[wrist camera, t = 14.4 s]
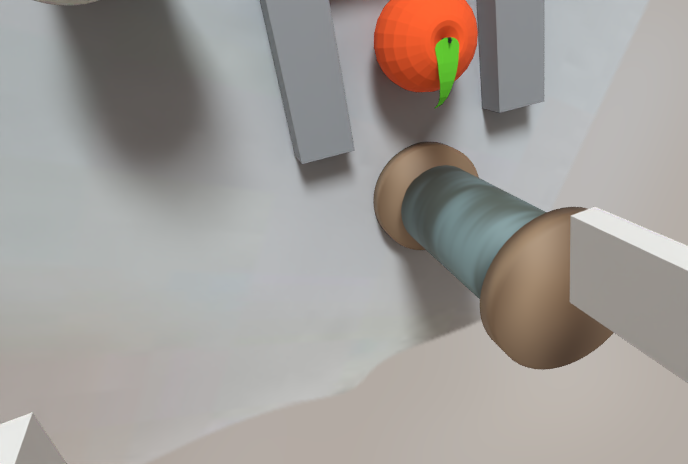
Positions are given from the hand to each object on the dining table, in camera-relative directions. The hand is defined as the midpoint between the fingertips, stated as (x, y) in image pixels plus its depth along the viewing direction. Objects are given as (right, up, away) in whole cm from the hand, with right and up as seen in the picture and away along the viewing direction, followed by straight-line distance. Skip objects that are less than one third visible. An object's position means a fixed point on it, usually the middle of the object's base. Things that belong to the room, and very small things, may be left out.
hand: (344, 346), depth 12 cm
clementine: (+4, +17, +25) cm, 30 cm away
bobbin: (+7, +6, +30) cm, 31 cm away
